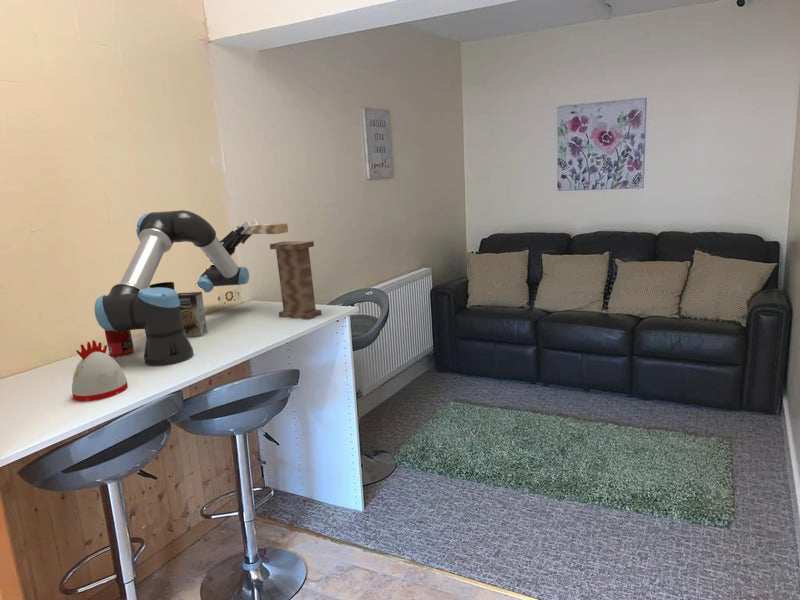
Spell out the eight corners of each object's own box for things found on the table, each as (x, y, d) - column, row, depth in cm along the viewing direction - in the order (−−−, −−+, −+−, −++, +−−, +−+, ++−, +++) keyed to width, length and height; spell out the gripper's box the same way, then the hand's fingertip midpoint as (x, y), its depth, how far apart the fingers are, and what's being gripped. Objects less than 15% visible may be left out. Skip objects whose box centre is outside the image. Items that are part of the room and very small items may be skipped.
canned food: (128, 356, 199) (122, 325, 197) (105, 357, 199) (99, 326, 197) (138, 349, 207) (132, 319, 204) (116, 351, 207) (110, 321, 205)
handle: (235, 234, 244) (234, 226, 243) (246, 232, 249) (245, 224, 248) (277, 233, 231) (276, 225, 230) (288, 232, 236) (287, 223, 235)
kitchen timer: (64, 396, 163) (53, 345, 160) (111, 380, 174) (101, 332, 171) (89, 404, 155) (78, 350, 152) (137, 387, 166) (128, 336, 163)
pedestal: (279, 317, 240) (269, 244, 233) (292, 312, 246) (283, 241, 240) (308, 319, 231) (299, 244, 225) (321, 314, 238) (313, 241, 231)
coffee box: (178, 338, 218) (171, 296, 215) (185, 333, 225) (178, 292, 221) (201, 336, 218) (195, 294, 214) (208, 332, 224) (202, 290, 221)
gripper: (203, 246, 248) (233, 217, 235) (233, 240, 262) (262, 213, 248) (212, 261, 248) (241, 233, 234) (241, 255, 261) (271, 228, 248)
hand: (252, 222), depth 241 cm, fingers closed on handle, 3 cm apart
